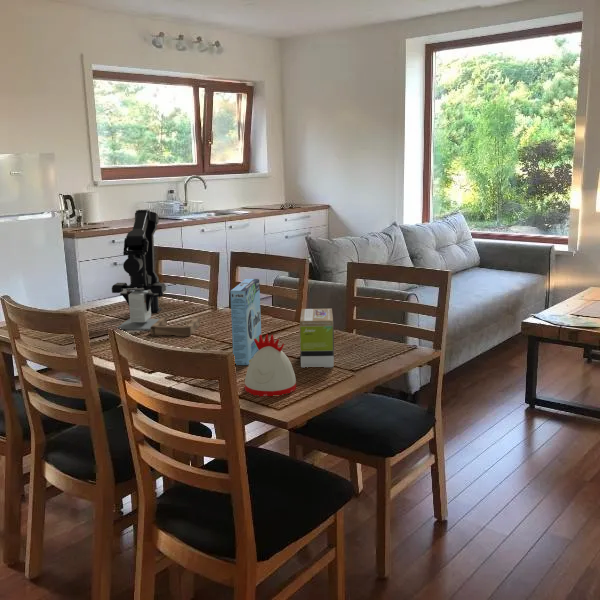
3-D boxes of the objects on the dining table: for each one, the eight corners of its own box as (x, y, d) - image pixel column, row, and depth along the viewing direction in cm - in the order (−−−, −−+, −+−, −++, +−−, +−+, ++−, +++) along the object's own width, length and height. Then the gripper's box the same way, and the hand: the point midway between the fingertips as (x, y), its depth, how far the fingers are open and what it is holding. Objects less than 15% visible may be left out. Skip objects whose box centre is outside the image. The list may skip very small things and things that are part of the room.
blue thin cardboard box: (248, 366, 199) (246, 291, 194) (231, 365, 200) (229, 290, 195) (262, 347, 218) (260, 278, 213) (247, 346, 219) (245, 278, 214)
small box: (137, 316, 251) (135, 289, 249) (151, 317, 250) (149, 289, 248) (129, 322, 243) (127, 294, 241) (144, 322, 243) (142, 294, 240)
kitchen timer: (255, 377, 189) (254, 326, 186) (302, 381, 185) (301, 329, 182) (237, 394, 176) (235, 339, 173) (286, 399, 172) (285, 343, 169)
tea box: (301, 353, 211) (301, 307, 208) (333, 353, 211) (333, 307, 208) (300, 368, 197) (299, 319, 193) (334, 368, 196) (334, 319, 193)
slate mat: (129, 320, 255) (129, 318, 254) (165, 320, 253) (165, 319, 253) (116, 329, 241) (116, 328, 241) (153, 330, 240) (153, 328, 240)
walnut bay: (163, 324, 247) (162, 316, 247) (200, 325, 246) (199, 317, 245) (150, 335, 233) (150, 327, 233) (190, 335, 232) (189, 327, 231)
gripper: (169, 265, 249) (171, 306, 253) (120, 265, 251) (123, 305, 255) (160, 270, 239) (162, 313, 242) (109, 270, 240) (112, 312, 244)
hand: (140, 310), depth 246 cm, fingers closed on small box, 5 cm apart
